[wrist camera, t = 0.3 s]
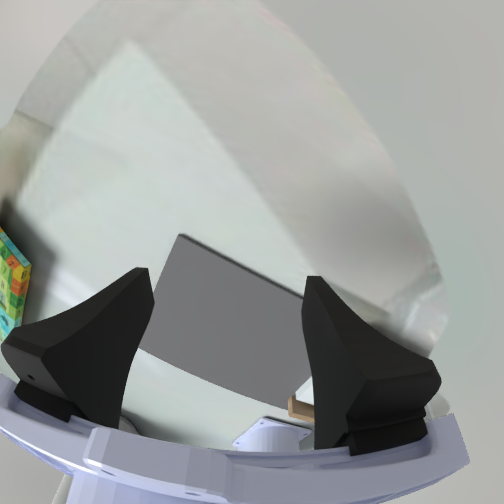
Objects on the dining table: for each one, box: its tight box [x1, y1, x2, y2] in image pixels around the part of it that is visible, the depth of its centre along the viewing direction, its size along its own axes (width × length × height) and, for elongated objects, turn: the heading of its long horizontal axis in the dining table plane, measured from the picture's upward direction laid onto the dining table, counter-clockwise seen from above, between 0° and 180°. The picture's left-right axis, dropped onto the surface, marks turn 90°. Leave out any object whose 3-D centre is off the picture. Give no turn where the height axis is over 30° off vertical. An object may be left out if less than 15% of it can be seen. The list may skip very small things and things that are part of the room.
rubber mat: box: [138, 234, 414, 410], centre depth 27 cm, size 14×30×1 cm, turn 61°
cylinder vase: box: [52, 474, 73, 504], centre depth 36 cm, size 12×12×25 cm
